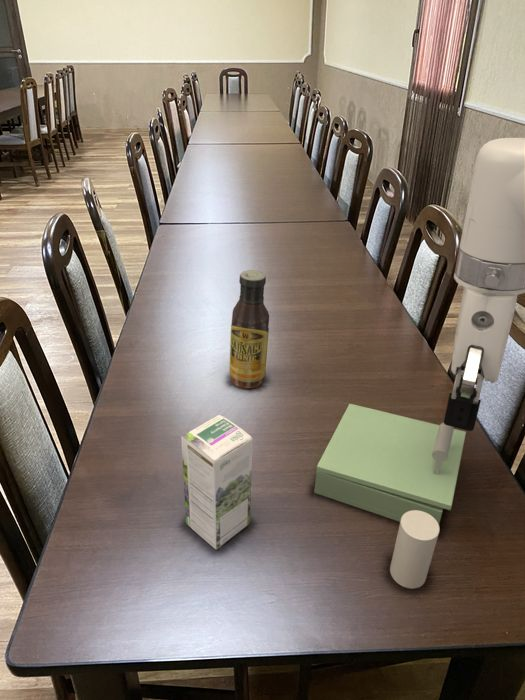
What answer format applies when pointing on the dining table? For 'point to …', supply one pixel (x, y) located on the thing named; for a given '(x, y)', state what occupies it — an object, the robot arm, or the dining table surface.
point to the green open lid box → (371, 498)
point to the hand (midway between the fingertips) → (463, 403)
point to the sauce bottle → (249, 332)
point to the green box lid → (396, 455)
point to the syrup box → (217, 479)
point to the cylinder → (414, 548)
